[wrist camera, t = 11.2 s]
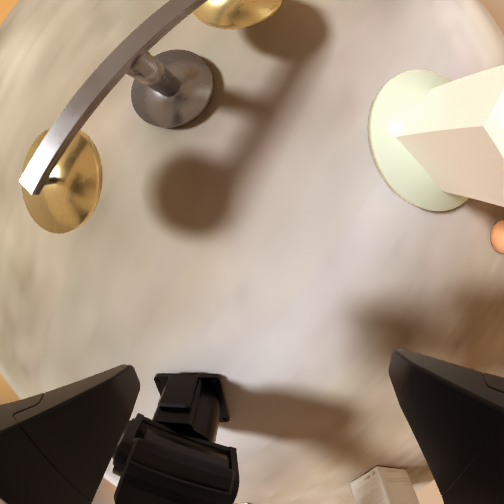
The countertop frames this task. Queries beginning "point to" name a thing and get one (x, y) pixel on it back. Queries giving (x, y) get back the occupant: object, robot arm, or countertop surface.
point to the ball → (498, 236)
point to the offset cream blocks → (462, 136)
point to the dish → (393, 152)
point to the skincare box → (384, 487)
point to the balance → (144, 102)
